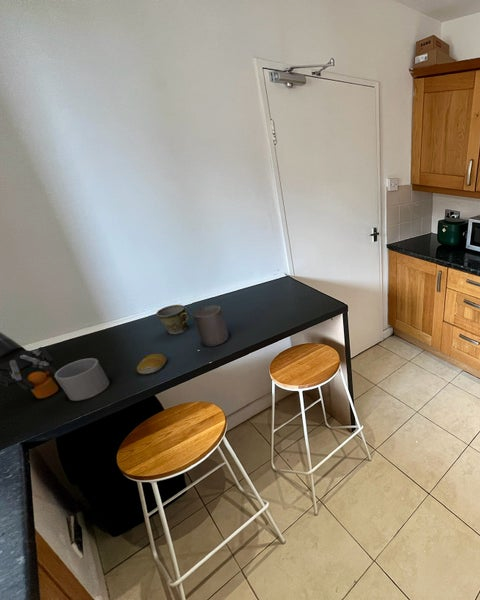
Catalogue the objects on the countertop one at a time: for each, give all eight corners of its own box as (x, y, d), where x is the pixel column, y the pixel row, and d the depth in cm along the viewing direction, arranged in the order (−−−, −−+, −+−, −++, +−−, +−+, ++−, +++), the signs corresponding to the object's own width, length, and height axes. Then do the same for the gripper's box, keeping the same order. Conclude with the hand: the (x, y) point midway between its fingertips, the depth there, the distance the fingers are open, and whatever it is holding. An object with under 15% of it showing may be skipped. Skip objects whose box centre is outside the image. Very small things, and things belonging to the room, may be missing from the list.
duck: (44, 399, 100) (29, 379, 96) (31, 397, 101) (16, 377, 97) (64, 387, 104) (51, 367, 101) (52, 384, 105) (39, 365, 102)
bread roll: (170, 357, 119) (166, 348, 117) (161, 372, 112) (157, 363, 110) (144, 361, 117) (140, 352, 115) (134, 376, 110) (129, 367, 108)
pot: (85, 402, 99) (71, 381, 95) (60, 398, 101) (45, 376, 96) (117, 381, 108) (105, 360, 103) (93, 377, 109) (81, 356, 105)
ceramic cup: (158, 335, 133) (150, 315, 128) (176, 323, 141) (169, 303, 137) (186, 337, 131) (178, 317, 126) (203, 325, 140) (196, 305, 135)
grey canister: (197, 342, 128) (186, 310, 121) (220, 330, 136) (210, 300, 129) (211, 349, 124) (200, 316, 117) (234, 337, 131) (224, 305, 124)
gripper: (-38, 354, 89) (18, 392, 92) (26, 328, 101) (72, 362, 105) (-39, 367, 92) (14, 403, 95) (22, 340, 105) (68, 372, 108)
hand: (44, 381), depth 100 cm, fingers closed on duck, 5 cm apart
